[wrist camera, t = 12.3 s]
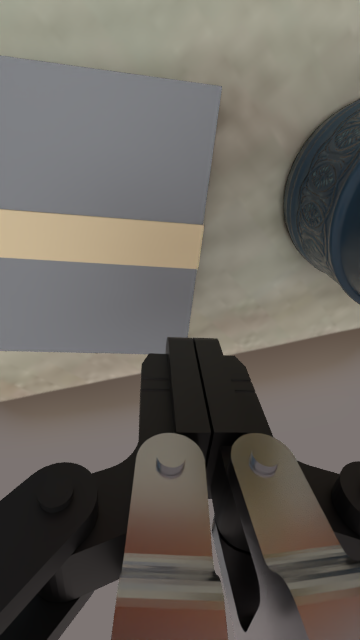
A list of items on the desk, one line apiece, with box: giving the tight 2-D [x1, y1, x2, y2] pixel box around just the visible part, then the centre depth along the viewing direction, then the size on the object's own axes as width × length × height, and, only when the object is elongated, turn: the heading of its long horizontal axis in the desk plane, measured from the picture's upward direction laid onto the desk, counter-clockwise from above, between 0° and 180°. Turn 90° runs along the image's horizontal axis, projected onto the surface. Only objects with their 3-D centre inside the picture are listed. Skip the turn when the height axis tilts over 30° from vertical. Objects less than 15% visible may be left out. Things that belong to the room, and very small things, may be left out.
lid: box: [0, 56, 222, 354], centre depth 19 cm, size 12×15×1 cm
